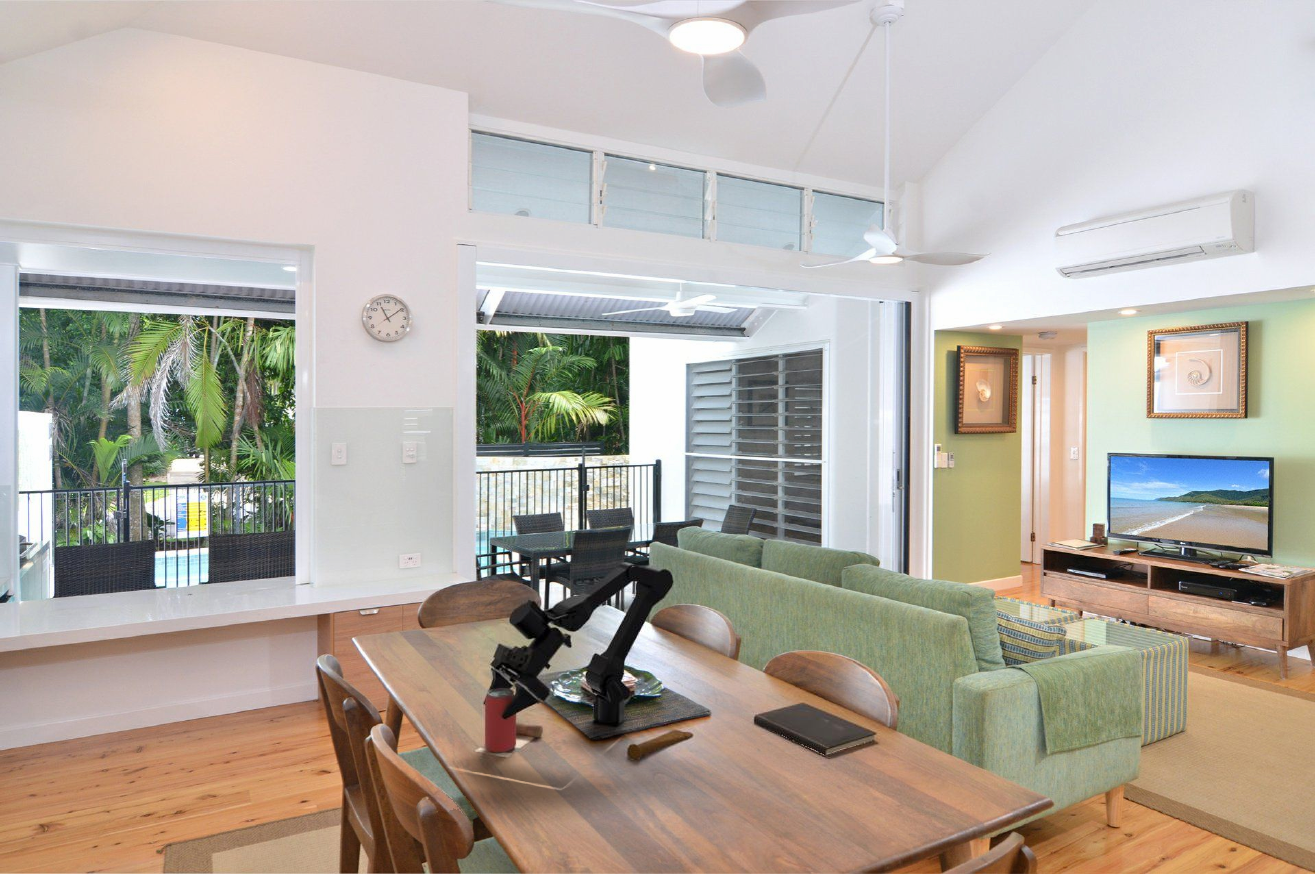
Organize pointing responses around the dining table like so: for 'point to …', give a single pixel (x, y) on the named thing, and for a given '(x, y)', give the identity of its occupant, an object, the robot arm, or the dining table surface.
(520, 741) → the plywood offcut
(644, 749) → the primitive tool
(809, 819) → the dining table surface
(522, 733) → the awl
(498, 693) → the beer can
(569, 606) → the robot arm
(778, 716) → the hardcover book
